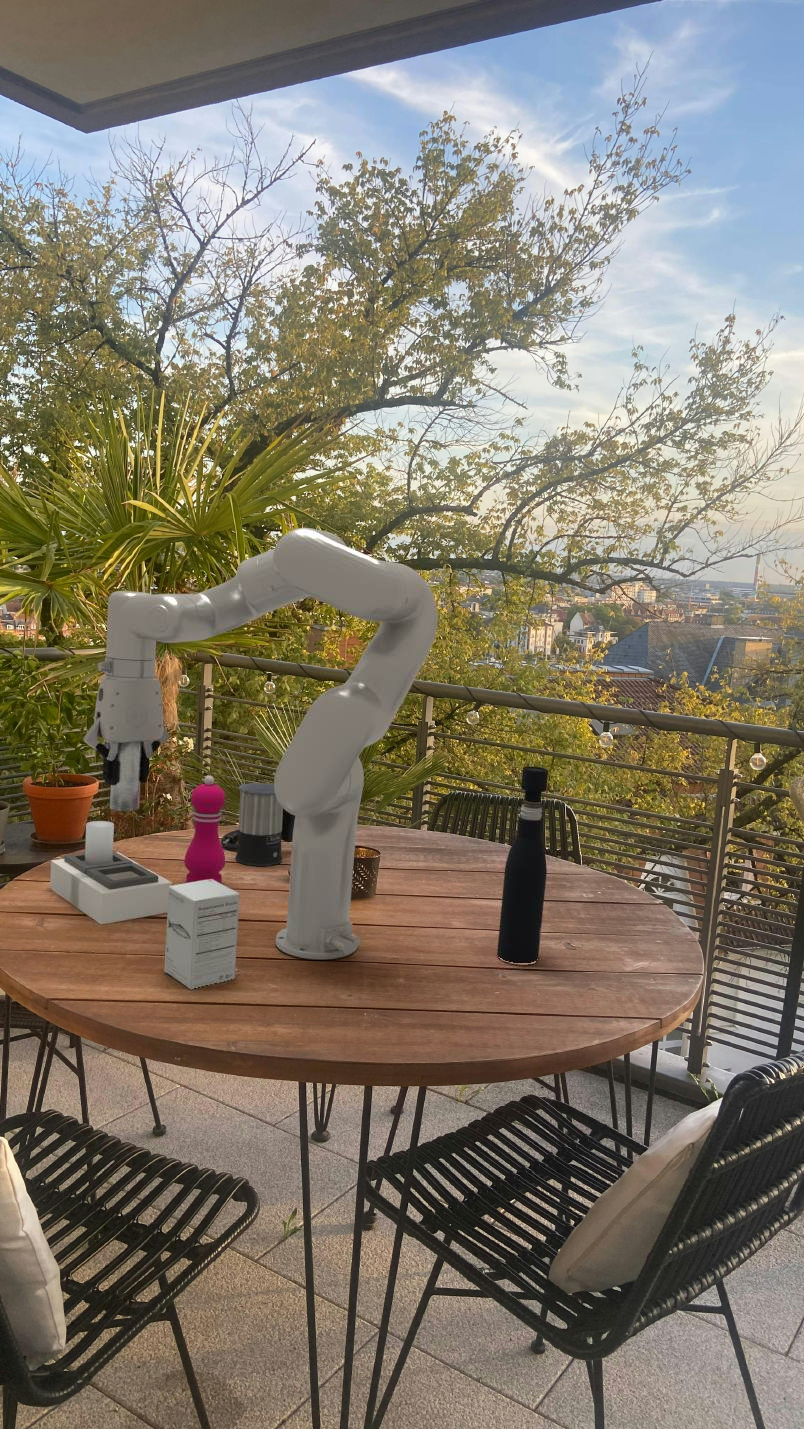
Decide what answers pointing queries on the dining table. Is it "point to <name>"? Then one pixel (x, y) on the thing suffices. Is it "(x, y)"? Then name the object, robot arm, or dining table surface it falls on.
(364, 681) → the robot arm
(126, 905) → the socket block
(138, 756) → the peg
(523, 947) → the dark water bottle
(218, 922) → the supplement box
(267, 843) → the milk frother
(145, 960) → the dining table surface
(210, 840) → the pepper mill
